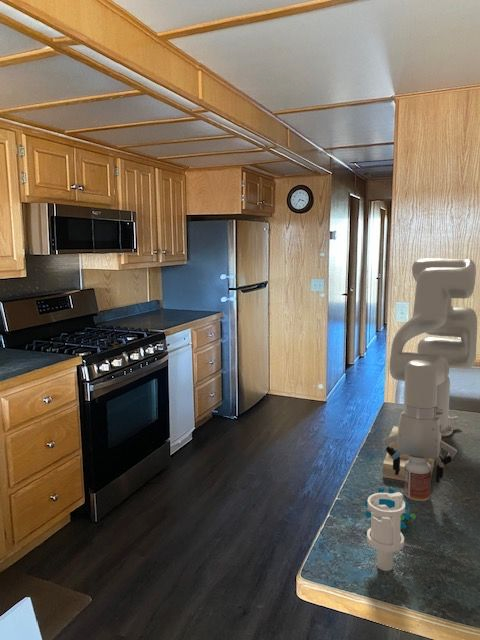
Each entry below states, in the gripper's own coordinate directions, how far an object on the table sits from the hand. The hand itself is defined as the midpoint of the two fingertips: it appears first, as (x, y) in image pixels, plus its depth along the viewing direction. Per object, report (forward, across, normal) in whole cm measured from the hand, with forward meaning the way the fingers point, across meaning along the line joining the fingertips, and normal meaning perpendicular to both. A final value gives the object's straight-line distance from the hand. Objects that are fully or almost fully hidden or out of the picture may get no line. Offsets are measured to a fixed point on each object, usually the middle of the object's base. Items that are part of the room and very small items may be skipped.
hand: (417, 476), depth 122 cm
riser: (+5, +4, -16) cm, 17 cm away
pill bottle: (+6, 0, 0) cm, 6 cm away
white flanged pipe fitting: (+6, +3, +30) cm, 31 cm away
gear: (+6, +4, +16) cm, 17 cm away
